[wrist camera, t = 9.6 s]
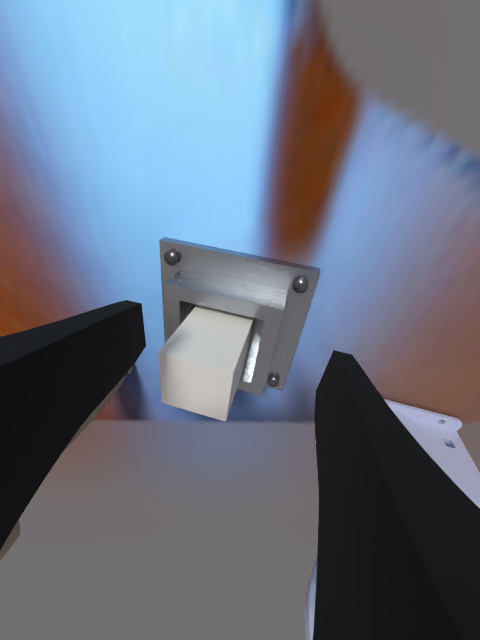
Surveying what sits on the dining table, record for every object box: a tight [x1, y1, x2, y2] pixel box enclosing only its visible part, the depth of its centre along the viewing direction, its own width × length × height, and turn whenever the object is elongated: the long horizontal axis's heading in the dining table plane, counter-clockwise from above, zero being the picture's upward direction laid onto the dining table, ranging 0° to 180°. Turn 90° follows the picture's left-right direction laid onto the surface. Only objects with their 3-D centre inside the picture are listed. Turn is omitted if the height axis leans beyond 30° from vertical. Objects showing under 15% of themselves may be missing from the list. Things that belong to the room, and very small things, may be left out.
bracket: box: [159, 237, 320, 396], centre depth 19 cm, size 11×11×4 cm
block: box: [158, 305, 256, 422], centre depth 16 cm, size 4×4×7 cm
